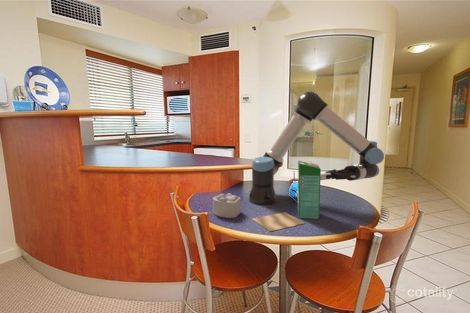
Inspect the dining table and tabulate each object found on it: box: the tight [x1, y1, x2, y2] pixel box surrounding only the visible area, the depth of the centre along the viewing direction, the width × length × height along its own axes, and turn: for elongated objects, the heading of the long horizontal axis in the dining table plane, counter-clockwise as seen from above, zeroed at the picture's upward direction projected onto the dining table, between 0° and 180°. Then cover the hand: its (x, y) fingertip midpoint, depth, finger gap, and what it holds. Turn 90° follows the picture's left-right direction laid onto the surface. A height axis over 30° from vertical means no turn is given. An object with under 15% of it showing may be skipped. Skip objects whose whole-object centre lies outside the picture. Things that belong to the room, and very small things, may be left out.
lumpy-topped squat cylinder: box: [212, 192, 242, 219], centre depth 117 cm, size 10×13×9 cm
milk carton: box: [297, 160, 322, 220], centre depth 113 cm, size 9×9×25 cm
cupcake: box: [288, 171, 298, 187], centre depth 156 cm, size 9×8×12 cm
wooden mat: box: [251, 211, 306, 233], centre depth 107 cm, size 18×14×1 cm
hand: (319, 177), depth 114 cm, fingers closed
